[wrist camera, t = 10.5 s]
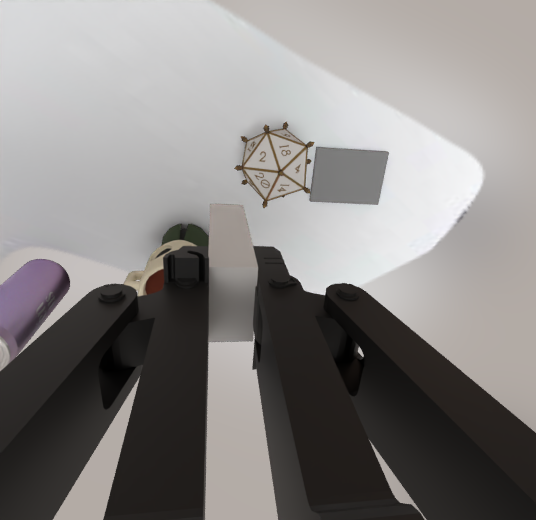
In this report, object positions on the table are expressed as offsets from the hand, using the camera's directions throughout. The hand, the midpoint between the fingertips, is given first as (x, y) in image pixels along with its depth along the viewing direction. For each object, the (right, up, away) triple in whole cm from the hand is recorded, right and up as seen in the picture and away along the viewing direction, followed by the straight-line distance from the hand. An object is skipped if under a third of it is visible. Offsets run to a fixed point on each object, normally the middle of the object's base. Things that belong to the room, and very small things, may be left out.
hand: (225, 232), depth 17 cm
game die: (+2, +11, +27) cm, 29 cm away
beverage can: (-27, -3, +30) cm, 40 cm away
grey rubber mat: (+12, +9, +28) cm, 32 cm away
